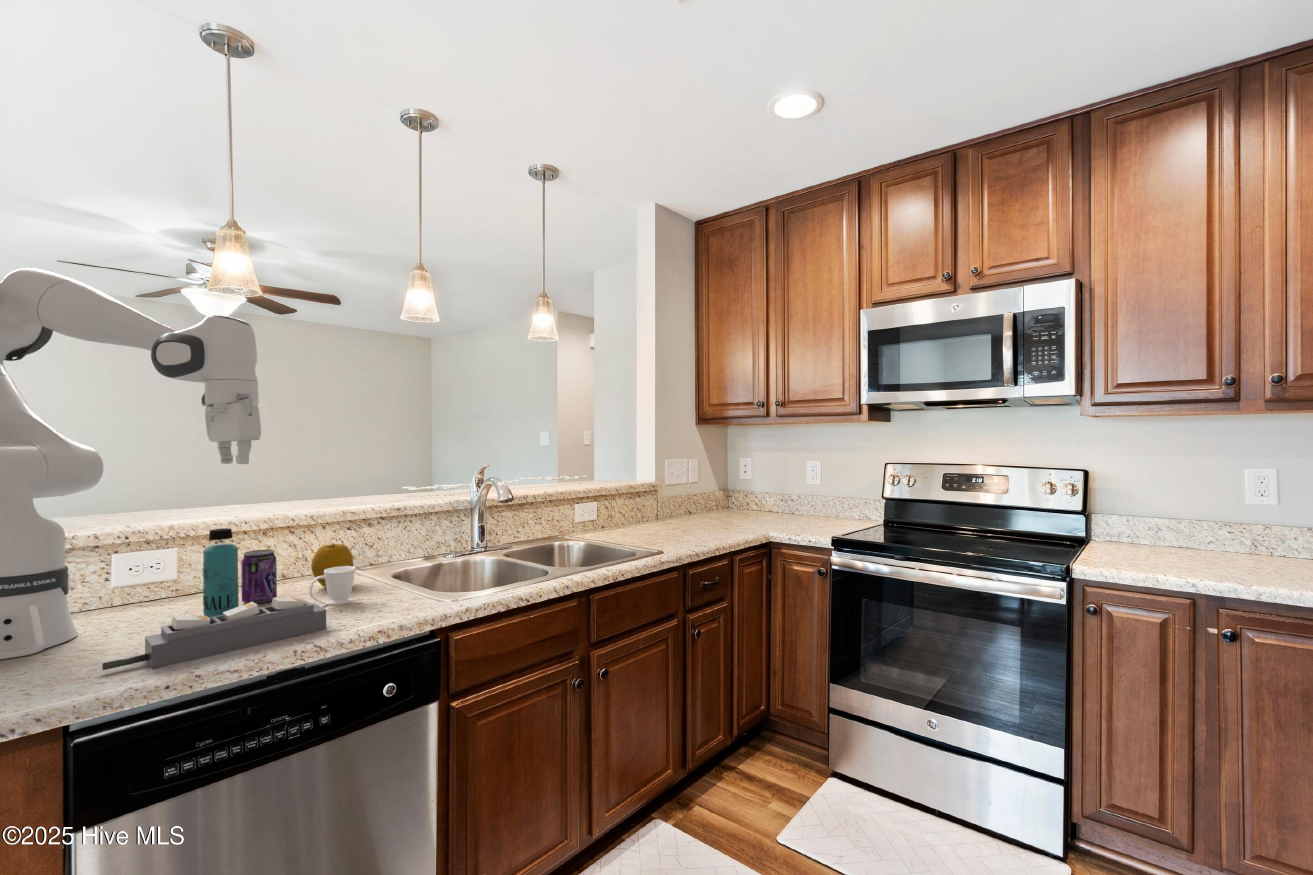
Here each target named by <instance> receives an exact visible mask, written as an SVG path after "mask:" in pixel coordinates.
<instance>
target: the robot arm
mask: <svg viewBox="0 0 1313 875" xmlns="http://www.w3.org/2000/svg"><path fill="white" fill-rule="evenodd" d="M54 332H55V333H58V334H60V335H63V336H66V337H70V338H73V339H77V340H81V341H82V340H83V341H87V342H93V343H98V344H99V343H100V344H107V345H109V344H110V345H116V346H124V347H132V348H136V349H142V350H147V351H150V360H151V363H152V365H153V367H154V369H155V370H156V371H157V372H158V373H159V374H160V375H162V376H164V377H167V378H170V379H173V380H178V381H183V382H184V381H185V382H193V383H201V384H204V393H203V394H202V395H201V406H202V407H205V410H204V418H205V419H204V420H205V427H206V434H207V438H208V440H209V442H211V443H217V449H218V453H219V456H220V464H223V465H224V464H225V465H227V464H228V465H229V464H233V463H234V460H233V459H234V455H233V454H232V442H236V447H237V454H236V455H235V459H236V460H235V462H236V464H237V465H248V464H249V462H250V453H251V449H252V441H259V440H260V439H261V435H262V426H261V417H260V416H261V415H260V408H259V403H260V402H259V401H260V400H259V380H258V376H257V374H256V368H257V367H256V366H257V362H258V352H257V351H258V350H257V341H256V334H255V331H254V328H253V327H252V325H251V324H250V323H249V322H248V321H246V320H243V319H240V318H236V317H231V316H229V315H221V314H210V315H207V316H205V318H204V319H202V320H201V321H200V322H198V323H197V324H195V325H193V326H190V327H188V328H185V329H182V330H179V329H176V328H174V327H172V326H169V325H167V324H164V323H162V322H160V321H157V320H155V319H153V318H151V317H149V316H147V315H145V314H143V313H141V312H139V311H137V310H136V309H134V308H132V307H130V306H128V305H126V304H124V303H122V302H120V301H119V300H117V299H115V298H113V297H111V296H110V295H107V294H106V293H105V292H102V291H100V290H98V289H96V288H94V287H92V286H90V285H87V284H85V283H84V282H81V281H78V280H76V279H73V278H70V277H69V276H64V275H61V274H58V273H56V272H51V271H47V270H43V269H39V268H31V267H26V268H25V267H23V268H19V269H16V270H13V271H11V272H9V273H8V274H7V275H5V277H3V279H2V280H1V281H0V660H4V659H5V660H6V659H10V658H11V659H12V658H17V657H24V656H30V655H34V654H36V653H38V652H41V651H43V650H45V649H47V648H51V647H54V646H57V645H60V644H63V643H66V642H68V641H70V640H72V639H74V638H75V637H77V636H78V631H77V629H76V627H75V624H74V621H73V618H72V614H71V611H70V604H69V600H68V594H69V592H70V591H69V590H70V571H69V567H68V565H66V533H65V530H64V528H63V526H62V525H61V524H59V523H57V522H56V521H54V520H52V519H48V518H46V517H42V516H41V515H40V514H39V512H38V511H37V509H36V506H35V503H34V499H41V498H44V499H45V498H55V497H56V498H57V497H64V496H65V497H66V496H69V495H73V494H77V493H81V492H84V491H87V490H90V489H92V488H94V487H95V486H96V485H98V483H99V482H100V481H101V479H102V477H103V474H104V468H105V467H104V462H103V459H102V457H101V455H100V453H98V451H97V450H96V449H94V448H93V447H91V446H89V445H86V444H83V443H80V442H77V441H75V440H73V439H71V438H69V437H68V436H66V435H64V434H63V433H61V432H60V431H58V430H57V429H55V428H54V427H52V426H51V425H50V424H48V423H47V422H46V421H45V420H44V419H43V418H41V417H40V416H39V415H38V414H37V413H36V412H35V411H34V410H33V409H32V408H31V406H30V405H29V403H28V402H27V400H26V399H25V398H24V396H23V395H22V393H21V392H20V390H19V388H18V386H17V385H16V383H15V381H14V380H13V378H12V377H11V376H10V374H9V372H8V371H7V369H6V367H5V365H4V364H5V363H4V362H6V361H7V362H14V361H19V360H22V359H24V357H25V356H27V355H31V354H34V353H35V352H38V351H39V350H41V349H42V348H43V347H45V346H46V345H47V344H48V342H49V341H50V340H51V338H52V336H53V333H54Z"/></svg>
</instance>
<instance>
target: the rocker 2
mask: <svg viewBox="0 0 1313 875" xmlns="http://www.w3.org/2000/svg"><path fill="white" fill-rule="evenodd" d="M259 608H260V607H259V604H255V603H254V602H250V603H244V604H242V605H239V607H236V608H234V609H231V610H228V611H225V612H223V615H224V619H225V621H230V620H235V619H240V618H245V617H250V616H252V615H255V614H258V613H260V612H259Z"/></svg>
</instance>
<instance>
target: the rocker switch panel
mask: <svg viewBox="0 0 1313 875" xmlns="http://www.w3.org/2000/svg"><path fill="white" fill-rule="evenodd" d="M303 600H304V601H306V602H305V606H301V607H296V608H290V609H275V608H273V607H272V606H271V605H269V606H268V605H267V606H262V607H258V608H259V612H260V613H258V614H255V615H252V616H250V617H245V618H240V619H235V620H230V621H225V619H224V615H220V616H214V617H209V619H211V620H210V624H209V625H204V626H199V627H194V628H189V629H174V628H173V627H172V626H171V624H168V625H163V626H160V633H156V634H152V635H146V636H144V653H143V654H140V655H135V656H129V657H125V658H120V659H116V660H111V661H106V662H102V664H101V668H102V671H107V670H112V669H116V668H121V667H124V666H130V665H133V664H140V663H143V662H147V663H148V665H149V667H151V669H152V670H154V669H157V668H161V667H165V666H170V665H176V664H178V663H183V662H188V661H193V660H197V659H201V658H205V657H210V656H214V655H218V654H219V655H220V654H223V653H227V652H230V651H235V650H240V649H241V650H242V649H244V648H249V647H252V646H253V647H254V646H257V645H262V644H265V643H271V642H275V641H279V640H284V639H288V638H292V637H296V636H300V635H301V636H302V635H307V634H310V633H315V632H318V631H319V632H320V631H323V630H327V609H325V608H324V607H322V606H320V605H318V604H316V603H311V602H309V601H308V600H305V599H303Z"/></svg>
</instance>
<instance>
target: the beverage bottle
mask: <svg viewBox="0 0 1313 875" xmlns="http://www.w3.org/2000/svg"><path fill="white" fill-rule="evenodd" d="M232 538H233V532H232V528H225V527H224V528H222V527H221V528H215V529H210V531H209V535H208V540H209V541H221V540H222V541H223V540H228V539H232ZM202 553H203V558H202V559H203V562H202V566H203V567H202V581H203V583H202V585H203V588H202V592H203V593H202V601H203V602H202V605H203V609H202V613H203V616H207V617H208V618H209V617H214V616H220V615H223V612H225V611H228V610H231V609H234V608H236V607H239V606H240V603H239V602H240V598H239V590H240V589H239V548H238V546H237V545H235V544H234V543H233V542H220V543H214V544H210V545H208V546H206V547H205V549H204V550H203V551H202Z"/></svg>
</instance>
